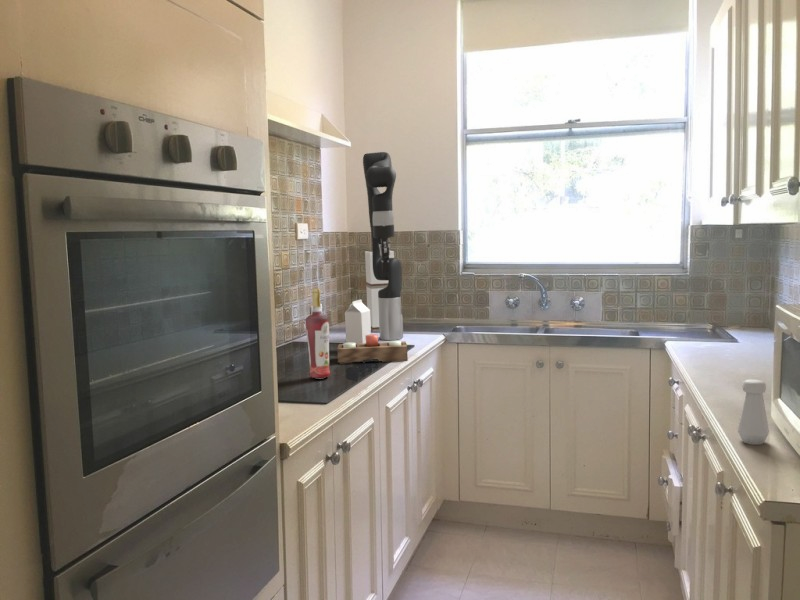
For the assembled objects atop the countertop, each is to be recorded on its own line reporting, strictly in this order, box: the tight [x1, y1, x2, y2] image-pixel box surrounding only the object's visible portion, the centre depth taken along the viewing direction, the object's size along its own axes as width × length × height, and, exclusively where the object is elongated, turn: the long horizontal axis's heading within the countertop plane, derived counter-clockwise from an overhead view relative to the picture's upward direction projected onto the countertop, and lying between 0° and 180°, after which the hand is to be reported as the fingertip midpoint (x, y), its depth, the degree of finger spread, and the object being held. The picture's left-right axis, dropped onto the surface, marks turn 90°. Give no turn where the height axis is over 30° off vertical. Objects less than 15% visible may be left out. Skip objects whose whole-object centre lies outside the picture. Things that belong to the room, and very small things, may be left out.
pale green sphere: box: [342, 342, 356, 348], centre depth 240 cm, size 4×4×4 cm
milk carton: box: [344, 299, 372, 343], centre depth 257 cm, size 7×7×19 cm
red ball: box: [366, 333, 379, 346], centre depth 240 cm, size 4×4×4 cm
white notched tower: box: [364, 250, 395, 333], centre depth 305 cm, size 11×11×35 cm
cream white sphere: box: [388, 340, 402, 346], centre depth 241 cm, size 4×4×4 cm
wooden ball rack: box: [337, 340, 409, 363], centre depth 241 cm, size 24×10×5 cm, turn 93°
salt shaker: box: [737, 378, 770, 446], centre depth 141 cm, size 6×6×13 cm
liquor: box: [305, 288, 332, 379], centre depth 213 cm, size 7×7×28 cm
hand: (385, 272), depth 245 cm, fingers closed
